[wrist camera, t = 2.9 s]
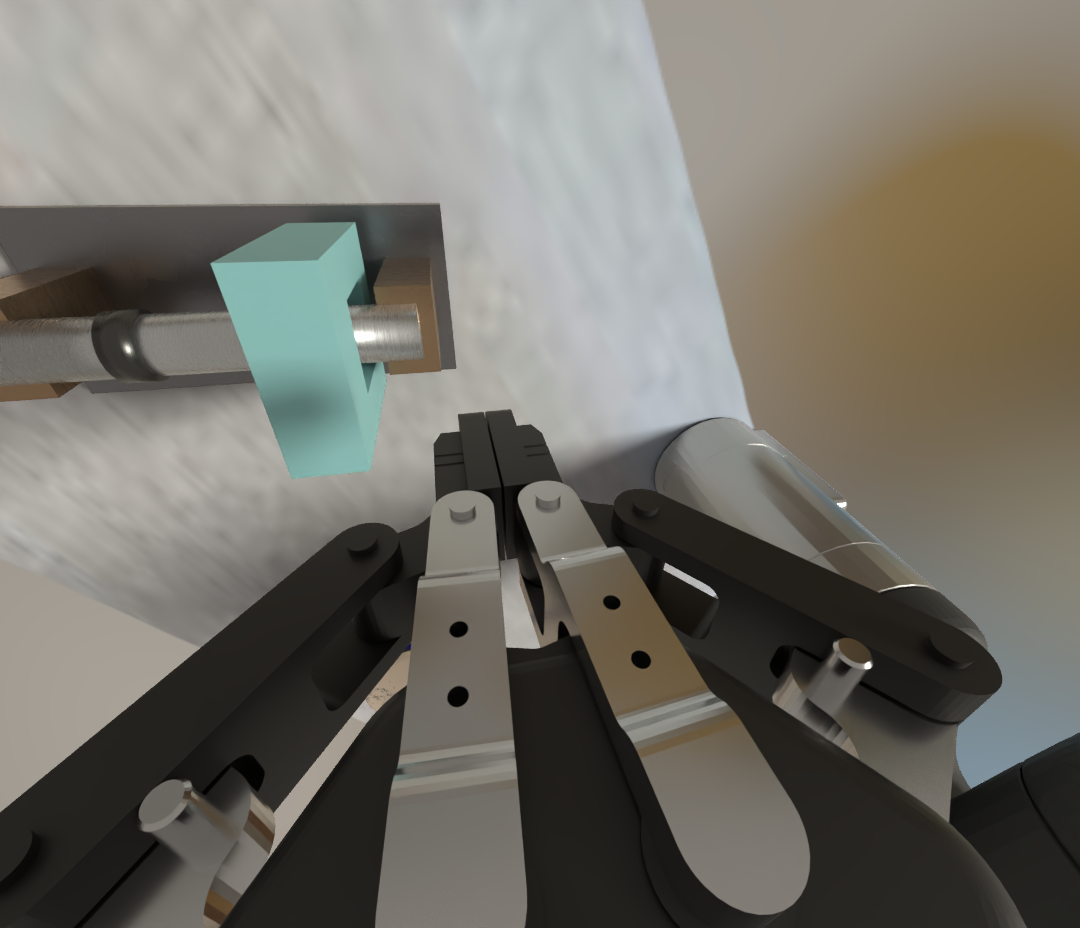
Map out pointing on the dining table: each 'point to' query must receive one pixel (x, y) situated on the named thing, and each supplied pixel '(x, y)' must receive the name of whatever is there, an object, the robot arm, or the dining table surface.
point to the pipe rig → (194, 293)
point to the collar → (307, 343)
